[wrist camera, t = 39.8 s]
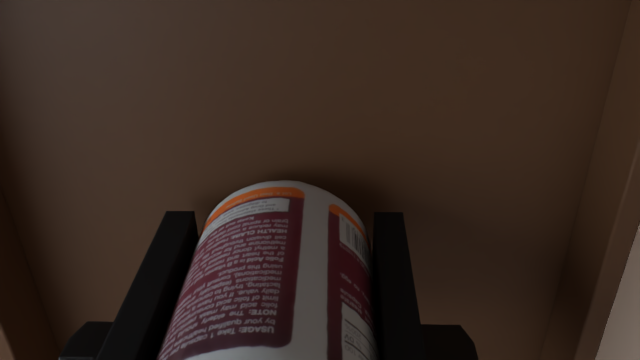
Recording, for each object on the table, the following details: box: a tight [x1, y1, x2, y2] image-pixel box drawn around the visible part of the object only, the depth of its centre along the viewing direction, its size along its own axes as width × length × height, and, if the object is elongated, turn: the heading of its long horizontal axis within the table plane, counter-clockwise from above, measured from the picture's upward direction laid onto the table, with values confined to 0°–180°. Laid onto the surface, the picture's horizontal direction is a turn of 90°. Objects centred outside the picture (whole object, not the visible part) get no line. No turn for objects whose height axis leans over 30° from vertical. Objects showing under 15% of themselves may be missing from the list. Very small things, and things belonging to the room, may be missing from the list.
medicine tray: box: [0, 0, 640, 360], centre depth 16 cm, size 17×17×3 cm
